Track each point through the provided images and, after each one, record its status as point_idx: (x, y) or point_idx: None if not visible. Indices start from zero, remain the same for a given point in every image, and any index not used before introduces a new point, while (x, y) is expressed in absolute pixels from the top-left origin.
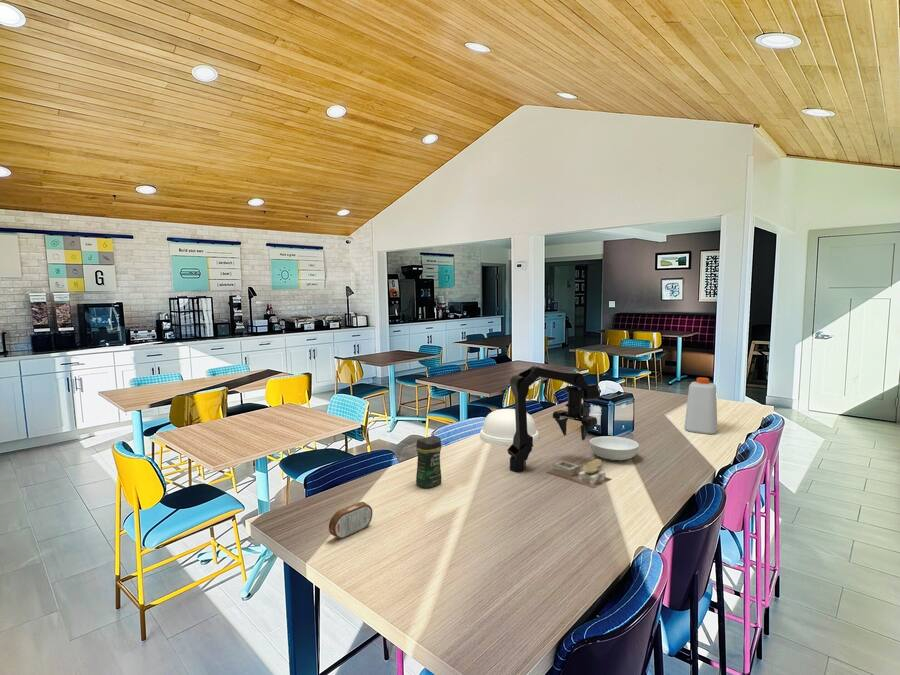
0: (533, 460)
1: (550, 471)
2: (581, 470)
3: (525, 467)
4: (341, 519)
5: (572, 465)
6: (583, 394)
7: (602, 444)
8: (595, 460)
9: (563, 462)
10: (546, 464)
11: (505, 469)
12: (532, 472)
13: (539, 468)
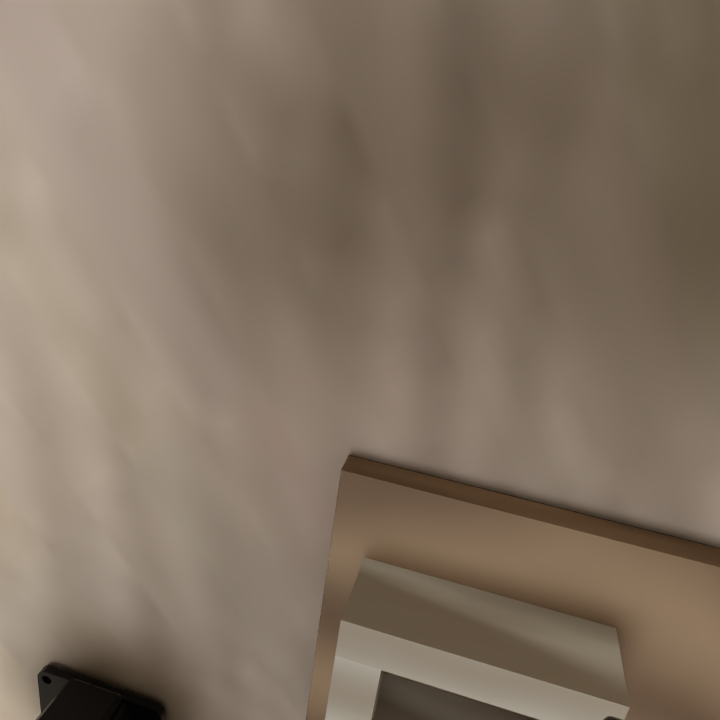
0: (11, 431)
1: (325, 701)
2: (606, 555)
3: (115, 711)
4: None
5: (522, 704)
6: None
7: None
8: None
9: (383, 666)
10: (165, 473)
11: (20, 715)
12: (196, 700)
13: (182, 599)
